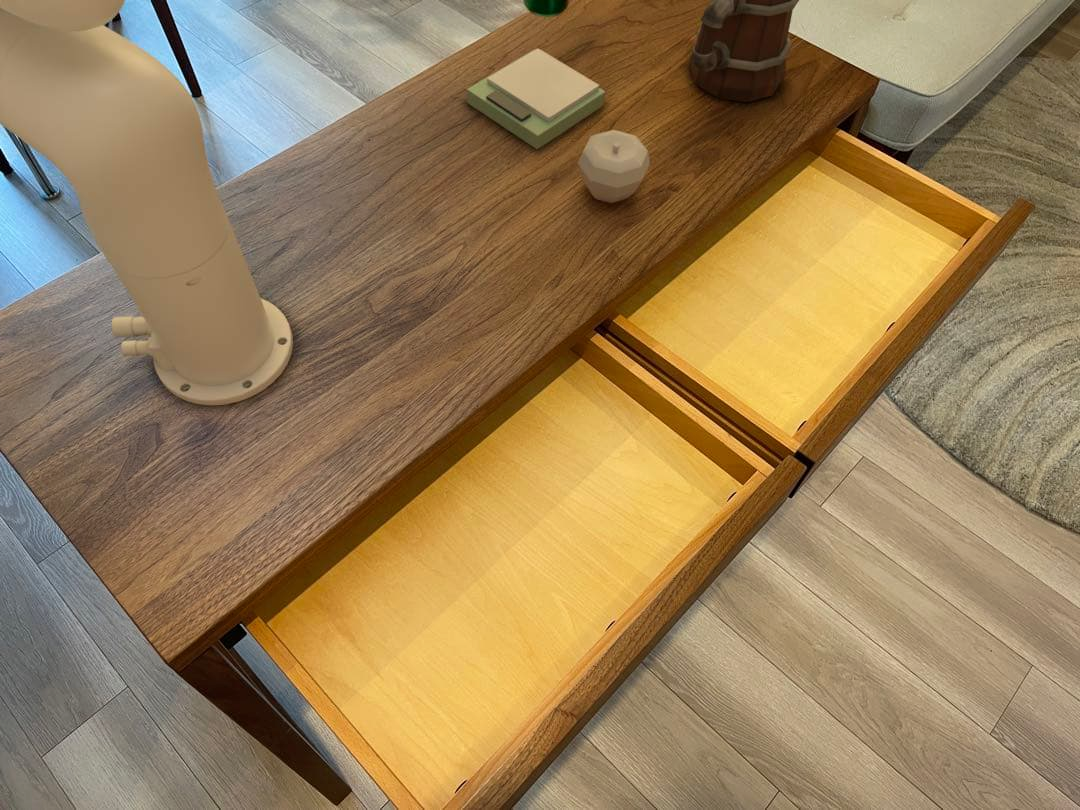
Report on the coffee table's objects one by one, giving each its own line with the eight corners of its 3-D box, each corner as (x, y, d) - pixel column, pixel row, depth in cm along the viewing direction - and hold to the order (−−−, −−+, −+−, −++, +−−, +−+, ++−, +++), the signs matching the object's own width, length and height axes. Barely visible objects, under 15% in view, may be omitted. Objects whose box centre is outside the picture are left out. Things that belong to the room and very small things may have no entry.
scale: (537, 149, 92) (538, 131, 90) (467, 103, 96) (466, 84, 94) (603, 105, 97) (606, 87, 95) (534, 62, 101) (535, 44, 99)
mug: (726, 37, 106) (756, -81, 93) (798, 78, 101) (840, -39, 89) (649, 83, 100) (669, -36, 87) (722, 130, 95) (755, 12, 83)
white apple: (605, 158, 92) (612, 110, 86) (658, 191, 89) (668, 144, 83) (560, 192, 88) (564, 144, 83) (614, 227, 86) (621, 180, 80)
